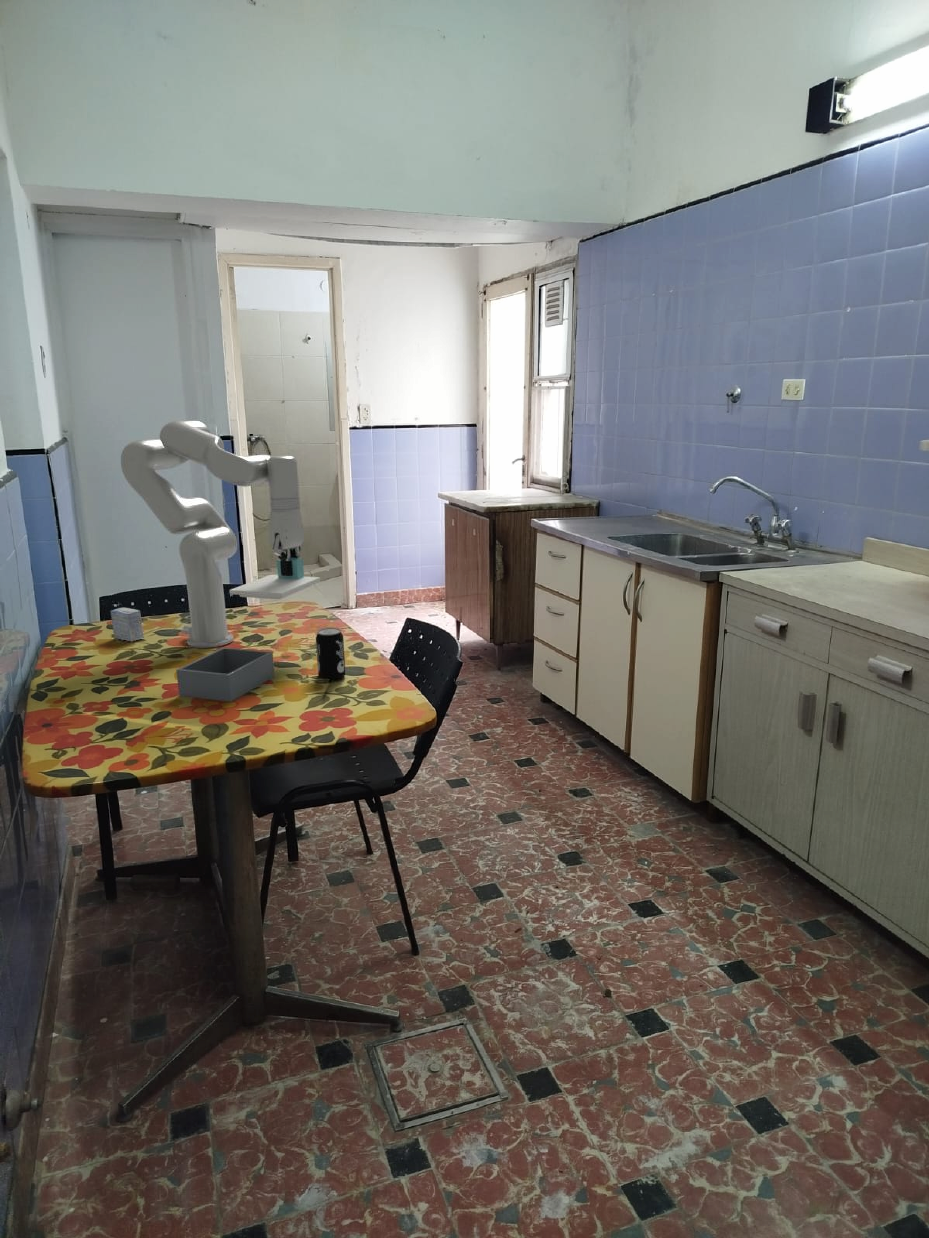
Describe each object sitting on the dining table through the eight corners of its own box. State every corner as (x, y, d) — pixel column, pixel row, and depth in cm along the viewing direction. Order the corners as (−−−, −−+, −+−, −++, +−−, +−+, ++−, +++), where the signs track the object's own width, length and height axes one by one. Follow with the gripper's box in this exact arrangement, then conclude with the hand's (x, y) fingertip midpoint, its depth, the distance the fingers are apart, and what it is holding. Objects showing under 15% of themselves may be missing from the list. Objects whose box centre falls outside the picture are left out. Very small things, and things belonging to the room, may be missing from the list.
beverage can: (333, 684, 196) (330, 636, 193) (312, 679, 199) (309, 632, 196) (351, 676, 201) (348, 629, 198) (330, 672, 204) (327, 625, 201)
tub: (179, 698, 188) (176, 669, 186) (225, 674, 204) (223, 647, 202) (231, 705, 183) (228, 675, 181) (274, 679, 200) (272, 652, 198)
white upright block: (144, 639, 236) (140, 610, 234) (131, 643, 232) (127, 613, 230) (127, 635, 240) (123, 606, 238) (113, 639, 236) (109, 610, 234)
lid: (230, 597, 204) (227, 570, 202) (271, 581, 221) (269, 556, 219) (282, 601, 199) (280, 573, 197) (320, 584, 216) (318, 558, 215)
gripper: (289, 500, 220) (294, 567, 225) (255, 508, 205) (261, 579, 210) (313, 501, 218) (318, 568, 223) (281, 509, 203) (287, 581, 208)
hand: (290, 573), depth 216 cm, fingers closed on lid, 3 cm apart
